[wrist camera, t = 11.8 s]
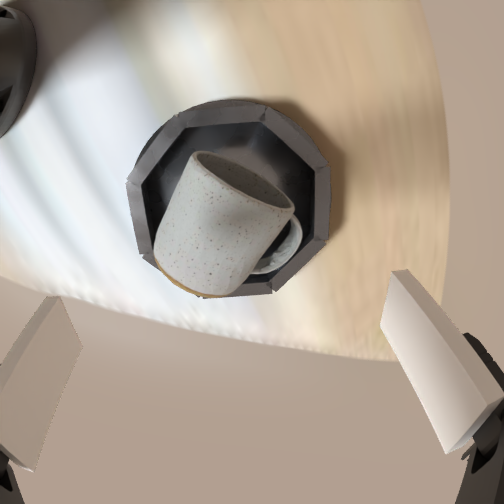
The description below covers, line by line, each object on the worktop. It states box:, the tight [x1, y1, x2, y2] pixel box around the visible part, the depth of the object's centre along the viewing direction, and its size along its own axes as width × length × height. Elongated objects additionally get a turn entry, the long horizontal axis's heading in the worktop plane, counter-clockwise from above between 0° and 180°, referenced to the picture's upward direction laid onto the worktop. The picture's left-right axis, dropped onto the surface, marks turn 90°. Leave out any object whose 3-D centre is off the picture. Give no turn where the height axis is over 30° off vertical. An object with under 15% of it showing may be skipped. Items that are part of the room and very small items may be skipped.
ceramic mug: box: [154, 151, 302, 298], centre depth 21 cm, size 11×8×8 cm
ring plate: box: [126, 100, 331, 299], centre depth 24 cm, size 17×17×2 cm
